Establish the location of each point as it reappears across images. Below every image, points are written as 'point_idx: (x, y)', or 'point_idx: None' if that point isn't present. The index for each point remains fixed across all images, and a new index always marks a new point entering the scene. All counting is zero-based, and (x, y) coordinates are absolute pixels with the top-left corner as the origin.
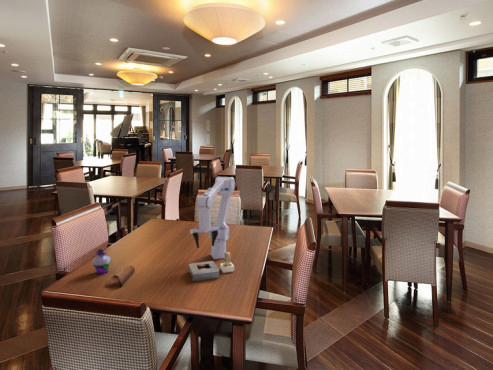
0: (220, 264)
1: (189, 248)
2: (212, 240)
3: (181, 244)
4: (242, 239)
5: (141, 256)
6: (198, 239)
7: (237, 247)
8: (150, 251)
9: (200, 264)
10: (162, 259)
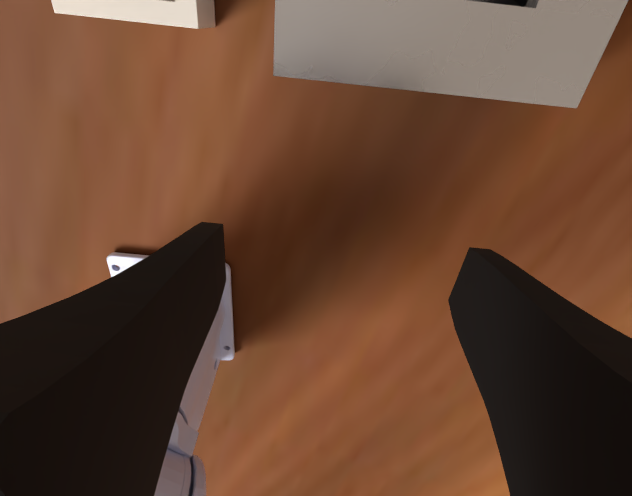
0: (199, 14)
1: (331, 449)
2: (188, 318)
3: (351, 491)
4: None
5: None
6: (596, 355)
7: None
8: None
9: (474, 9)
10: None
